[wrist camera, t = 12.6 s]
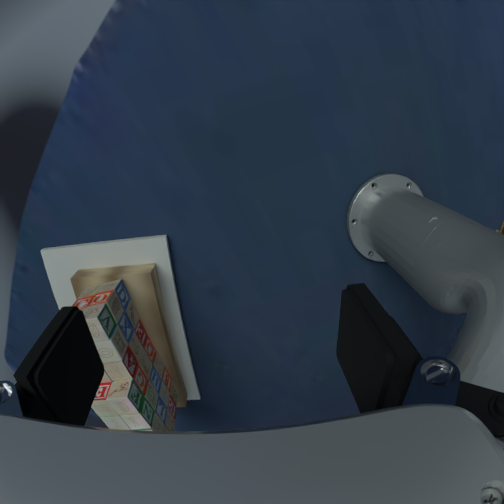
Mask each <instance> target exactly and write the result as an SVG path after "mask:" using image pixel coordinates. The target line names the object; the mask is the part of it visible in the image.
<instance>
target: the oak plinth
mask: <svg viewBox="0 0 504 504" xmlns="http://www.w3.org/2000/svg"><path fill="white" fill-rule="evenodd" d="M119 279H122V280H123V282H124V285H125V287H126V289H127V291H128V293H129V296H130V299H131V300H132V302H133V304H134V306H135V309H136V311H137V313H138V315H139V319H140V321H141V323H142V325H143V327H144V329H145V331H146V333H147V335H148V336H149V338H150V340H151V342H152V344H153V346H154V348H155V350H156V351H157V352H158V354H159V356H160V358H161V360H162V362H163V364H164V366H165V367H166V369H167V371H168V373H169V375H170V377H171V378H172V381H173V383H174V385H175V387H176V388H177V390H178V402H177V406H176V407H186V405H187V396H188V394H187V391H186V387H185V384H184V380H183V377H182V373H181V369H180V366H179V362H178V358H177V355H176V351H175V347H174V343H173V339H172V335H171V331H170V327H169V323H168V318H167V314H166V310H165V305H164V301H163V297H162V292H161V287H160V282H159V278H158V273H157V268H156V263H151V264H139V265H127V266H115V267H103V268H92V269H80V270H78V271H77V272H76V273H75V274H74V275H73V276H72V277H71V278H70V280H71V284H72V287H73V290H74V293H75V296H76V299H78V297H79V296H80V295H81V293H82V292H83V291H84V289H85V288H88V287H91V286H95V285H98V284H104V283H107V282H111V281H115V280H119Z"/></svg>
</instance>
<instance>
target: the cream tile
mask: <svg viewBox="0 0 504 504" xmlns="http://www.w3.org/2000/svg"><path fill="white" fill-rule="evenodd" d="M41 254H42V258H43V261H44V265H45V268H46V271H47V275H48V278H49V281H50V284H51V287H52V290H53V293H54V296H55V299H56V302H57V304H58V307H59V310H60V309H61V308H62V307H65V306H72V305H73V304H74V302H75V301H76V300H77V299H76V296H75V293H74V290H73V287H72V284H71V280H70V278H71V277H72V276H73V275H74V274H75V273H76V272H77V271H78V270H80V269H92V268H103V267H115V266H127V265H139V264H151V263H156V268H157V273H158V278H159V282H160V287H161V292H162V297H163V301H164V305H165V310H166V314H167V318H168V323H169V327H170V331H171V335H172V339H173V343H174V347H175V351H176V355H177V358H178V362H179V366H180V369H181V373H182V377H183V380H184V384H185V387H186V391H187V394H188V396H187V400H200V398H201V396H200V392H199V388H198V384H197V380H196V376H195V372H194V368H193V364H192V360H191V355H190V351H189V347H188V342H187V338H186V333H185V329H184V324H183V319H182V315H181V310H180V305H179V300H178V295H177V290H176V284H175V279H174V274H173V268H172V262H171V257H170V251H169V245H168V239H167V235H159V236H149V237H139V238H130V239H121V240H112V241H103V242H94V243H85V244H76V245H68V246H60V247H52V248H44V249H42V250H41Z"/></svg>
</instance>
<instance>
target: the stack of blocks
mask: <svg viewBox="0 0 504 504" xmlns="http://www.w3.org/2000/svg"><path fill="white" fill-rule="evenodd" d="M72 306H76V307H78V308H79V310H82V311H83V313H84V316H85V319H86V322H87V324H88V327H89V330H90V332H91V335H92V338H93V340H94V343H95V345H96V348H97V350H98V353H99V355H100V358H101V360H102V362H103V365H104V376H103V378H102V381H101V383H100V386H99V388H98V391H97V393H96V396H95V398H94V401H93V403H92V406H91V407H92V408H93V410H94V411H95V412H96V413H97V414H98V416H100V418H101V419H102V420H103V421H104V423H105V424H106V425H107V426H108V427H109V428H110V429H121V430H137V431H162V432H174V429H175V416H176V406H177V402H178V390H177V388H176V387H175V385H174V383H173V381H172V378H171V377H170V375H169V373H168V371H167V369H166V367H165V366H164V364H163V362H162V360H161V358H160V356H159V354H158V352H157V351H156V350H155V348H154V346H153V344H152V342H151V340H150V338H149V336H148V335H147V333H146V331H145V329H144V327H143V325H142V323H141V321H140V319H139V315H138V313H137V311H136V309H135V306H134V304H133V302H132V300H131V299H130V296H129V293H128V291H127V289H126V287H125V285H124V282H123V280H122V279H119V280H115V281H111V282H107V283H104V284H98V285H95V286H91V287H88V288H85V289H84V291H83V292H82V293H81V295H80V296H79V297H78V299H77V300H76V301H75V302H74V304H73V305H72Z"/></svg>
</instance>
